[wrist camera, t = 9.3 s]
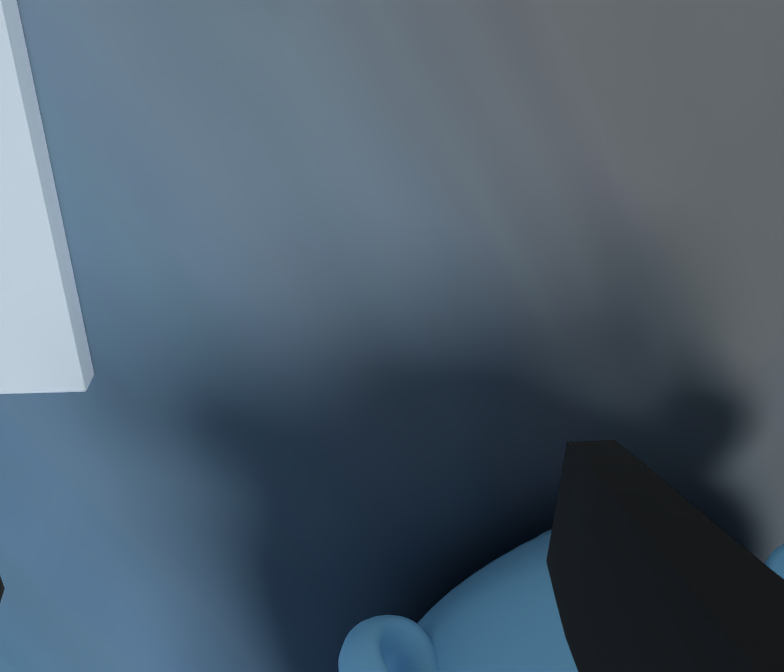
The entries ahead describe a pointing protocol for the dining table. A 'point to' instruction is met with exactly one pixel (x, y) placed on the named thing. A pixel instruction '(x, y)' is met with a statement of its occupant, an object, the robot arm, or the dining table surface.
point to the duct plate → (33, 242)
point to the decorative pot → (480, 624)
